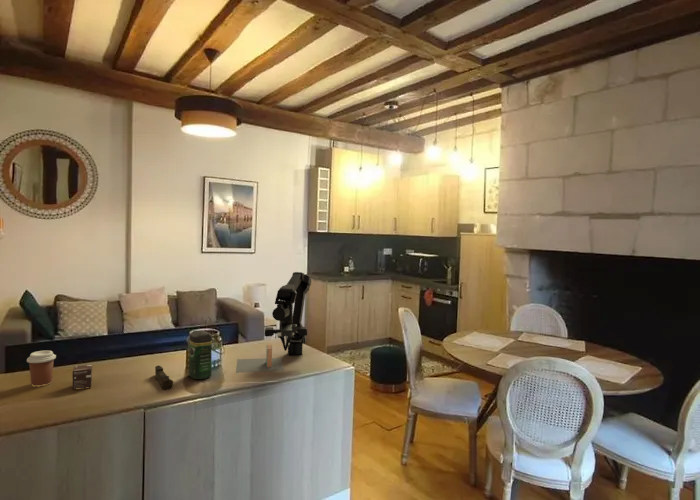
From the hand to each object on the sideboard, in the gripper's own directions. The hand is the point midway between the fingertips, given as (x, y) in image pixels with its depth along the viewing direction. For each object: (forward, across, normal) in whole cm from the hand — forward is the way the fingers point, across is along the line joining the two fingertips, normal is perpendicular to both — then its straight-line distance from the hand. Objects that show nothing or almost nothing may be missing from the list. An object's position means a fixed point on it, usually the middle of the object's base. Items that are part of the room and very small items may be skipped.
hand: (285, 350), depth 197 cm
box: (+7, -76, -17) cm, 79 cm away
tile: (+6, -7, 0) cm, 9 cm away
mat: (+7, -11, 0) cm, 13 cm away
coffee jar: (+7, -35, -10) cm, 37 cm away
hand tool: (+7, -49, -15) cm, 52 cm away
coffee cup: (+7, -92, -12) cm, 93 cm away
